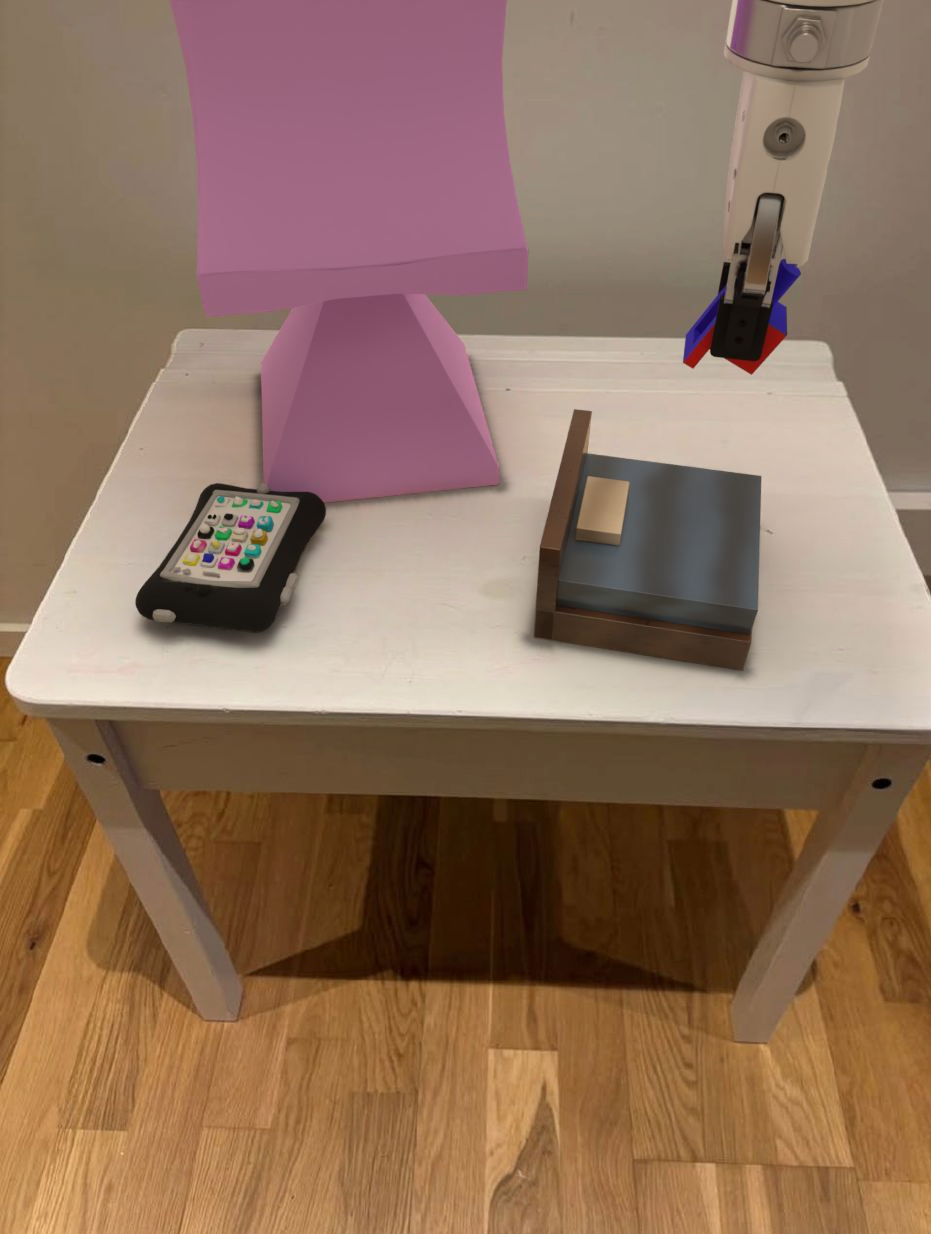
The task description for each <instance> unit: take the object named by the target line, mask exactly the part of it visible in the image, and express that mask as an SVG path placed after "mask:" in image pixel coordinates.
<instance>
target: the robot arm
mask: <svg viewBox="0 0 931 1234" xmlns="http://www.w3.org/2000/svg"><path fill="white" fill-rule="evenodd" d="M884 3H885V0H731V5H730V6H731V7H730V13H729V18H728V26H727V31H726V37H725V43H724V49H723V56H724V58H725V60H726V61H728V62H729V64H731V66H734V67H735V68H737V69H739V70H742V71H743V72H742V77H741V84H740V90H739V94H738V95H739V96H738V101H737V107H736V113H735V119H734V125H733V132H732V139H731V145H730V152H729V159H728V160H729V161H728V168H727V177H726V185H725V186H726V188H725V199H724V200H725V201H724V202H725V203H724V216H723V241H722V242H723V243H722V254H723V255H724V256H725V258H726V259H727V261H723V263H722V269H721V273H720V280H719V285H718V289H717V290H718V291H717V295H718V294H719V293H720V291H721V290H722V289H723V288H724V287H725V285H726V284H727V286H726V291H725V296H723V295H720V300H719V305H718V310H717V315H716V321H715V326H714V331H713V336H712V342H711V347H710V350H709V354H710V355H711V356H712V357H714V358H720V359H724V358H729V359H738V360H747V361H758V360H759V359H760V358H761V355H762V350H763V346H764V342H765V338H766V333H767V329H768V325H769V321H770V316H771V312H772V308H773V300H772V296H773V291H774V287H775V282H776V277H777V273H778V268H779V264H780V262H781V260H782V254H784V259H786V263H787V264H795V267H798V268H801V267H802V266H804V265H805V264H806V263H808V261H809V257H810V253H811V246H812V243H813V237H814V233H815V228H816V225H817V224H816V223H817V219H818V214H819V210H820V205H821V201H822V197H823V193H824V188H825V183H826V179H827V175H828V170H829V165H830V160H831V157H832V152H833V147H834V143H835V138H836V133H837V129H838V122H839V117H840V112H841V106H842V100H843V95H844V87H845V82H846V81H845V80H846V79H847V78H849V77H852V76H855V75H858V74H860V73H861V72H863V71H864V70H865V69H867V67H868V65H869V62H870V58H871V54H872V50H873V47H874V43H875V39H876V34H877V30H878V27H879V22H880V19H881V16H882V12H883V8H884Z"/></svg>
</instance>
